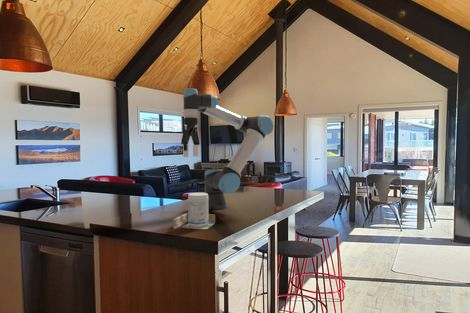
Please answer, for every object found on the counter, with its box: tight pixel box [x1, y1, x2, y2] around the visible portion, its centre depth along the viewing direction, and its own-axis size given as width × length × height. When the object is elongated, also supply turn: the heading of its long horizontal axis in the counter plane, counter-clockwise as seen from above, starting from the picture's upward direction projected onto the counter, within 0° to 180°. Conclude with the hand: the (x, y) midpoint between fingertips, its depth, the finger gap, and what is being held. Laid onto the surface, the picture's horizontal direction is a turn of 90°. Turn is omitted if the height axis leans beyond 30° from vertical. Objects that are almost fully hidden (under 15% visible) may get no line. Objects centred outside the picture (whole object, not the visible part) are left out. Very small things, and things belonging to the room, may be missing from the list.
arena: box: [172, 212, 216, 230], centre depth 156 cm, size 16×16×4 cm
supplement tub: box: [187, 192, 210, 227], centre depth 155 cm, size 10×10×15 cm
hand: (191, 156), depth 180 cm, fingers open, 13 cm apart
